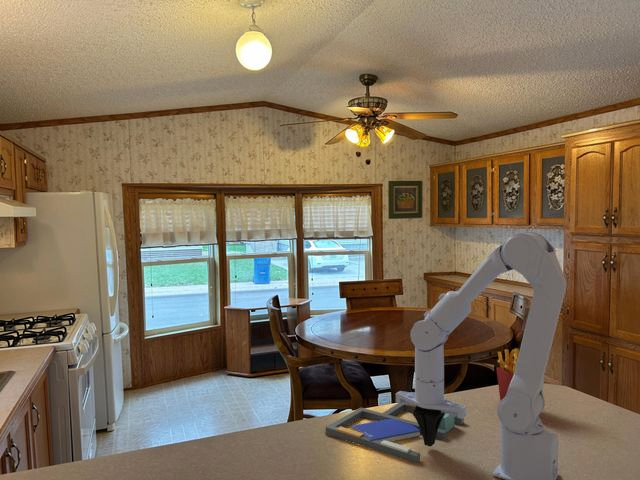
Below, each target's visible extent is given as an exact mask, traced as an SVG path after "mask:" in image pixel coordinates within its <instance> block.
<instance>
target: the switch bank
mask: <svg viewBox="0 0 640 480" xmlns="http://www.w3.org/2000/svg"><path fill="white" fill-rule="evenodd" d="M415 408H416V406H414V405H410V404H406V403H402V402H401V403H396V404H394V405H393V406H390V408H388V409H387V410H385V411H383V412H382V413H383V414H387V415H391V416H394V417H397V416H398V415H399V414H401V413H402V412H405V411H406V412H409V413H413V411H414V410H415ZM464 423H465V417H464V418H463V419H460V418H457V416H454V425H460V426H462V425H464Z"/></svg>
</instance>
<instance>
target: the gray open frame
mask: <svg viewBox="0 0 640 480" xmlns="http://www.w3.org/2000/svg"><path fill="white" fill-rule="evenodd" d="M361 417H362V418H365V417H366V418H365V419H368V418H369V419H368V420H372V419H373V420H372V421H375V420H376V421H381V420H387V419H393V420H397V421H400V422H404V423H407V424H411V425H413V426H414V427H416V428H417V429H419V430H420V434H421V435H422V433H421V429H420V427H419V424H418V422H417V421H416V422H415V421H413V420H409V419H405V418H402V417H399V416H395V417H394V416H391V415H387V414H383V412H379V411H376V410H371V409H367V408H365V407H359V408H357V409H355V410H353V411H351V412H350V413H348V414H346V415H345V416H343V417H341V418H339V419H336V420H335V421H334V422H332V423H330V424H329V425H327V426H325V435H328V436H330V437H331V436H332V437H334V438H337V439H341V440H343V439H344V440H343V441H346V440H347V441H346V442H349V441H350V443H352V442H354V443H353V444H355V443H356V444H355V445H358V444H359V445H358V446H362V447H364V448H367V449H371V450H374V451H377V452H380V453H383V454H386V455H389V456H392V457H395V458H398V459H401V460H404V461H406V462H410V463H413V464H418V463H419V462H421V453H420V452H417V451H414V450H412V448H411V447H408V446H405V445H402V444H399V443H396V442H394V441H391V442H389V441H386V440H384V441H380V440H373V441H370V440H368V439H367V438H366V437H365V436H363V434H364V433H360V432H357V431H354V430H351V428H348V426H350V425H352V424H353V423H355V422H356V421H355V420H357V419H358V420H360V419H361ZM398 417H399V418H398ZM359 418H360V419H359ZM358 420H357V421H358ZM354 421H355V422H354ZM352 422H353V423H352ZM351 423H352V424H351ZM349 424H350V425H349ZM447 433H448V432H447V431H446V430H442V429H438V431H437V434H436V439H439V440H442V441H445V439H447V437H448V434H447Z"/></svg>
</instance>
